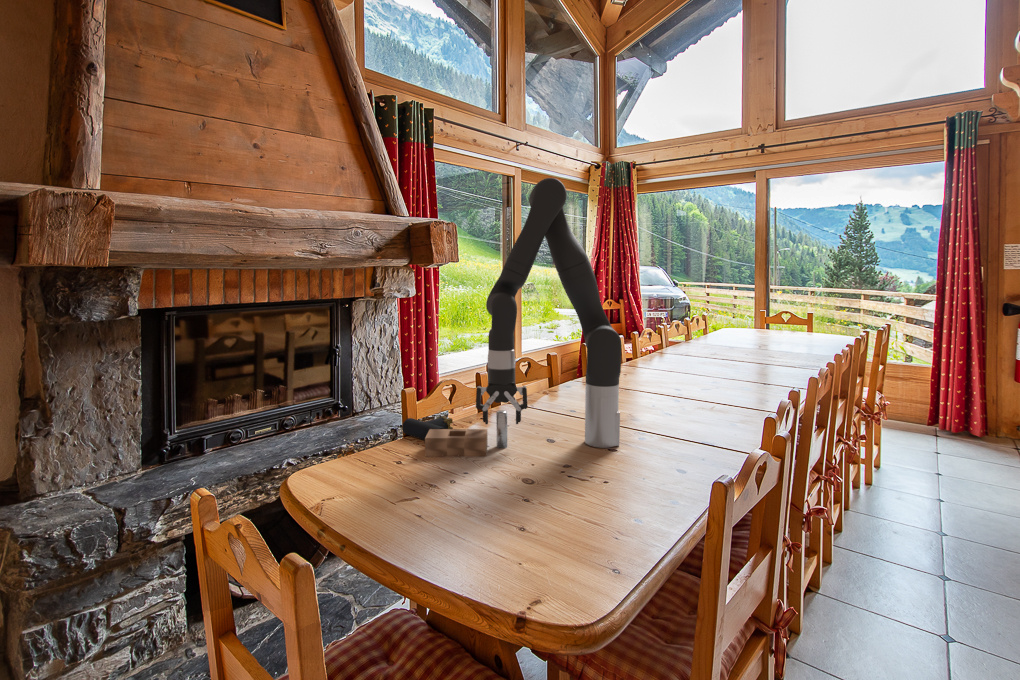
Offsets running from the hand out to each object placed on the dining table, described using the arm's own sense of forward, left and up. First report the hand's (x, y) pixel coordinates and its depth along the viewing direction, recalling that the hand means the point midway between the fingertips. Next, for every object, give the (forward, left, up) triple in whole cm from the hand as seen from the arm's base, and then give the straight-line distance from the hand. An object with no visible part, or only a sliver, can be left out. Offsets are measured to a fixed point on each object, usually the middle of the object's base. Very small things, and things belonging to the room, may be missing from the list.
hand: (501, 423), depth 148 cm
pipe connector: (+20, -10, -7) cm, 24 cm away
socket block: (+12, +4, -7) cm, 14 cm away
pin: (0, 0, -7) cm, 7 cm away
